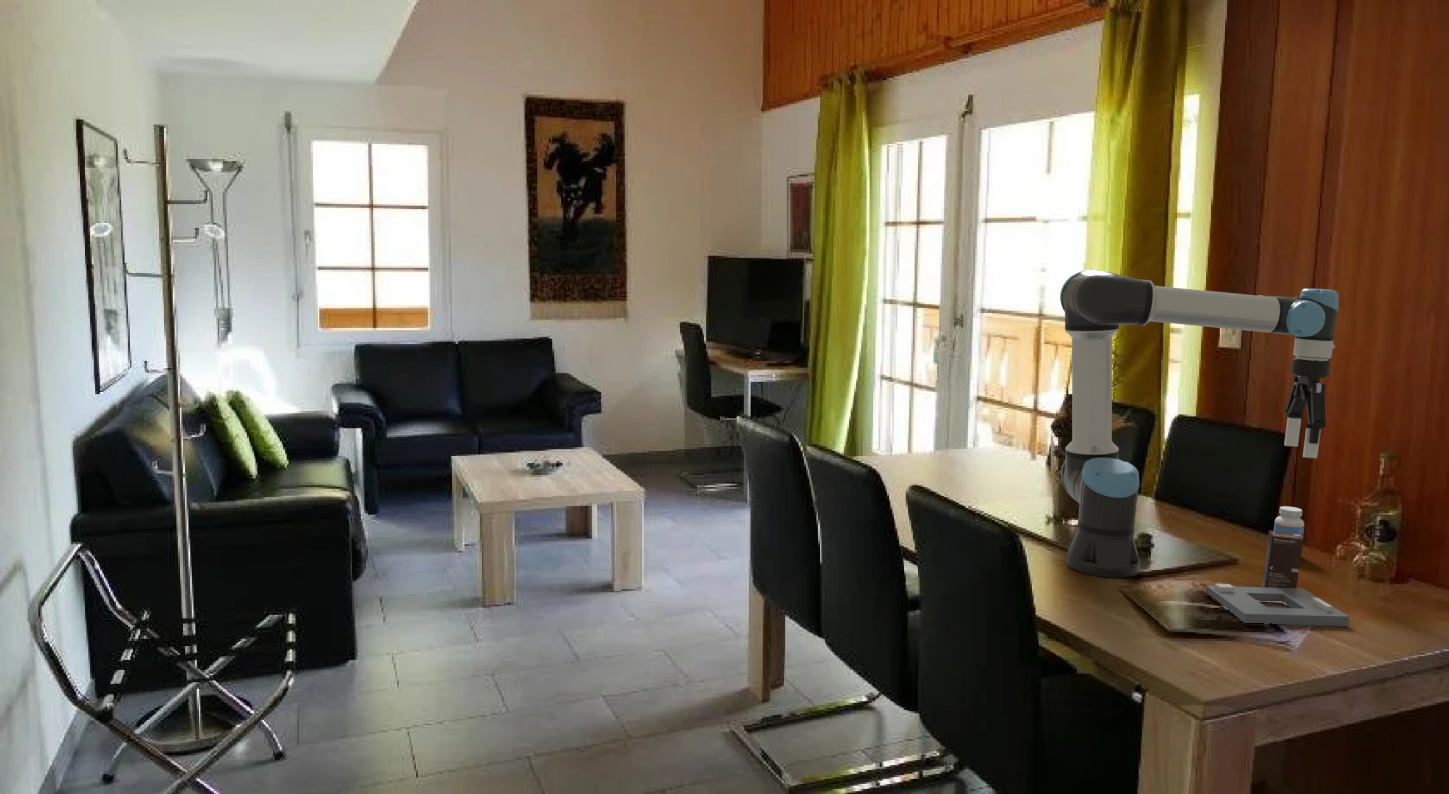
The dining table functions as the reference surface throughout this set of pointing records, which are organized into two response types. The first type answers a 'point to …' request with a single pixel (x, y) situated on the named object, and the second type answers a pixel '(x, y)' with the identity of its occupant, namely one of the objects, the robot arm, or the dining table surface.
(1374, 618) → the dining table surface
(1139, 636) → the dining table surface
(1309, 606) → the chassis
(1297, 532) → the pill bottle
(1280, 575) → the box
